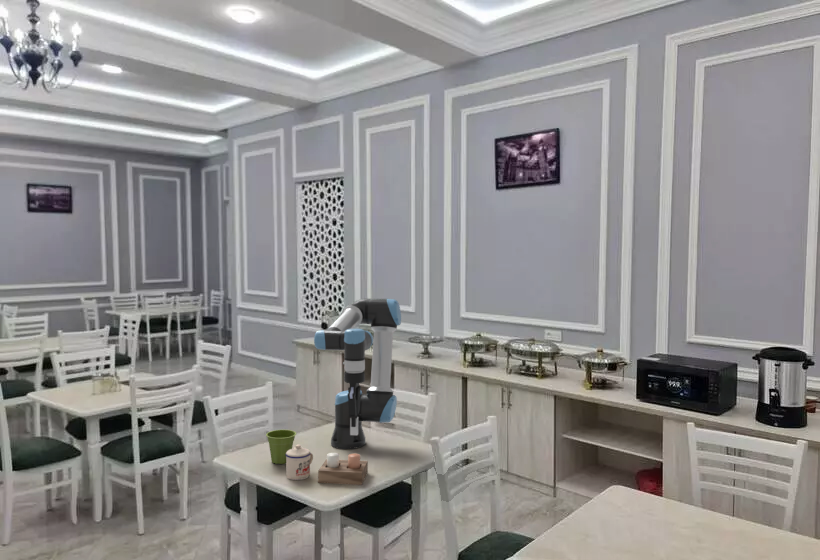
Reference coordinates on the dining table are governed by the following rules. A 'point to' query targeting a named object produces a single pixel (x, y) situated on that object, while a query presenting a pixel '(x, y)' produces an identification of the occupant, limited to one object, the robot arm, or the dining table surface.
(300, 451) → the teacup with lid
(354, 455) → the brown egg
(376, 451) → the dining table surface
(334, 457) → the white egg
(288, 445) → the plant pot
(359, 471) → the wooden egg holder
